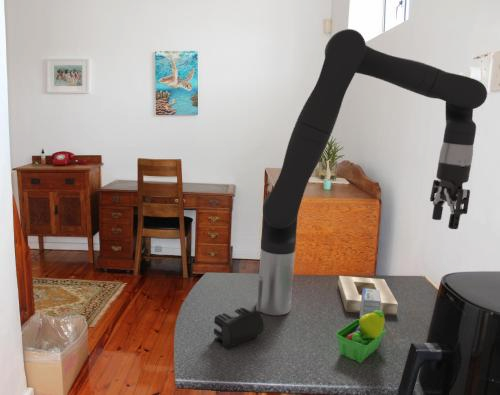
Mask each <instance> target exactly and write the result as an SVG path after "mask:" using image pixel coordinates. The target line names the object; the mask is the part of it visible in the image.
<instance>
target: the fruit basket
mask: <svg viewBox="0 0 500 395" xmlns="http://www.w3.org/2000/svg"><path fill="white" fill-rule="evenodd" d="M385 321H386V319H385V315H384V314H383V312H381V311H379V310H375V311H373V313H370V314H366V315H364V316H362V317H361V318H360V317H359V318H357V319H355V320H354V321H352V322H351V323H349V324H348V325H346V326H345V327H343V328H342V329H341V330H339V331H337V332H336V334H335V335H336V339H337V340H338V341H337V342H338V347H339V348H338V349H339V353H340V355H341V356H345V357H347V358H348V359H351V360H354V361H356V362H358V363H363V361H364V360H365V359H366V358H368V357H369V356H370V355H371V354H372V353H373V352H374V351H376V350H377V349H378V348H379V345H380V343H381V341H382V339H383V336H384V335H385V333H386V331H387V330H386V328H384V327H385V326H384V325H385Z"/></svg>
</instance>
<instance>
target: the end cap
mask: <svg viewBox="0 0 500 395" xmlns="http://www.w3.org/2000/svg"><path fill="white" fill-rule="evenodd" d="M234 313H236V314H238V316H231V315H229V314H227V313H226V312H225V313H222V314H218V315H216V316H214V321H213V323H214V325H216V326H218V327H219V328H220V329H217V328H216V327H214V329H213V335H215V337H214V341H215V342H216V343H217V344H219V345H220V346H221V347H223V348H225V349H227V348H229V347H232V346H235V345H237V344H240V343H243V342H246V341H248V340H252V339H254V338H257V337H259V336H261V335H262V334H263V332H264V330H265V324H264V318H263V316H262V315H261V313H260V312H259V311H256V310H254V311H250V310H248V309H246V308H245V307H240V308H238V309H235V310H234Z"/></svg>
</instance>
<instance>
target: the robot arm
mask: <svg viewBox="0 0 500 395" xmlns="http://www.w3.org/2000/svg"><path fill="white" fill-rule="evenodd" d="M323 60H324V61H323V64H322V67H321V69H320V73H319V77H318V79H317V82H316V84H315V85H314V88H313V89H312V91H311V93H310V94H309V97H307V99H306V101H305V103H304V105H303V107H302V109H301V111H300V113H299V115H298V117H297V119H296V121H295V124H294V127H293V129H292V132H291V134H290V138H289V141H288V143H287V148H286V151H285V155H284V158H283V164H282V167H281V170H280V173H279V175H278V177H277V179H276V182H275V184H274V186H273V188H272V190H271V191H270V192H269V193H268V194H267V195H266V197H265V200H264V202H263V205H262V214H263V218H262V229H261V230H262V231H261V239H260V255H259V256H260V257H259V268H258V269H259V270H258V271H259V272H258V280H257V281H258V282H257V294H256V295H257V296H256V310H255V311H257V312H259V313H260V312H261V313H263V314H265V315H270V316H283V315H287V314H288V313H289V312H291V305H292V292H293V280H294V279H293V278H294V267H295V255H296V245H297V244H296V243H297V228H298V227H297V226H298V216H299V211H300V207H301V204H302V202H303V201H302V200H303V197H304V194H305V191H306V188H307V185H308V183H309V181H310V179H311V176H312V175H313V173H314V172H315V169H316V167H317V166H318V164H319V162H320V160H321V159H322V156H323V154H324V152H325V149H326V147H327V145H328V143H329V140H330V137H331V136H332V133H333V130H334V127H335V125H336V122H337V120H338V117H339V113H340V111H341V108H342V104H343V101H344V97H345V95H346V92H347V90H348V88H349V86H350V85H351V82H352V80H353V79H354V76H356V74H361V75H364V76H368V77H371V78H374V79H378V80H381V81H384V82H386V83H389V84H392V85H394V86H397V87H399V88H401V89H404V90H407V91H410V92H412V93H415V94H417V95H421V96H424V97H426V98H430V99H437V100H442V101H444V102H445V128H444V133H443V141H442V144H441V148H440V151H439V156H438V158H439V159H438V162H437V163H438V164H437V168H436V169H437V171H436V179H434V180H433V181H432V188H431V193H430V197H429V200H430V202H432V205H433V210H432V211H433V212H432V215H431V216H432V217H431V218H432V220H435V221H441V220H442V217H443V216H442V215H443V211H444V205H445V203H446V204H447V206H448V207H449V210H450V214H449V219H448V220H449V221H448V225H447V226H448V229H450V230H458V229H459V225H460V220H461V219H460V218H461V216H462V215H467V214H468V208H469V202H470V196H471V195H470V194H471V190H470V189H465V188H464V189H463V184H464V183H465V184H466V183H468V182H469V177H470V172H471V168H472V162H473V161H472V160H473V156H474V144H475V138H476V132H477V125H476V123H475V122H474V120H473V116H474V115H473V114H474V112H473V111H474V109H477V108H479V107H481V106H482V105H483V104H485V102H486V99H487V98H488V91H487V88H486V86H485V85H484V83H483V82H482V81H480V80H478V79H475V78H473V77H469V76H465V75H461V74H458V73H452V72H448V71H445V70H443V69H440V68H438V67H437V66H432V65H430V64H427V63H424V62H421V61H418V60H414V59H411V58H410V59H409V58H407V57H402V56H397V55H392V54H389V53H385V52H383V51H379V50H377V49H374V48H373V47H370V46H369V45H367V44H366V41H365V38H364V36H363V35H362V34H361V32H359V31H358V30H356V29H353V28H352V29H351V28H347V29H342V30H339V31H338V32H336V33H334V34H333V35H332V36H331V37H330V38H329V40H328V41H327V43H326V45H325V49H324V59H323Z"/></svg>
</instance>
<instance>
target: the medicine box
mask: <svg viewBox="0 0 500 395" xmlns="http://www.w3.org/2000/svg"><path fill="white" fill-rule="evenodd" d="M380 308H381V299H380V294H379V290H375V289H365V288H363V290H362V298H361V307H360V313H359V319H360V318H361V317H362V316H364V315H366V314H370V313H373V311H375V310H379V311H380Z"/></svg>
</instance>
